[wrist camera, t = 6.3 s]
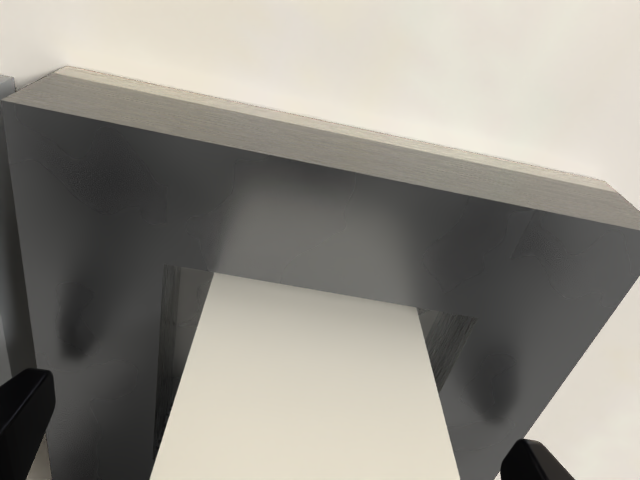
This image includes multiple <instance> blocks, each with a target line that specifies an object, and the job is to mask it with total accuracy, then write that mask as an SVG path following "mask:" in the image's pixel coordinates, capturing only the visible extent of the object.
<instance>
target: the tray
mask: <svg viewBox="0 0 640 480" xmlns="http://www.w3.org/2000/svg"><path fill="white" fill-rule="evenodd" d="M13 93H15V84H14V77H9V76H4V75H0V386H1V385H2V384H4V383H5V382H7V381H8V380H9V379H11V378H12V377H14V376H15V375H17V374H18V373H20V372H21V371H22V370H24V369H27V368H37V364H36V357H35V350H34V342H33V335H32V328H31V320H30V313H29V306H28V298H27V291H26V284H25V276H24V269H23V262H22V254H21V247H20V240H19V232H18V225H17V218H16V210H15V203H14V196H13V188H12V181H11V174H10V166H9V159H8V152H7V144H6V137H5V130H4V122H3V115H2V108H1V99H3V98H5V97H7V96H9V95H11V94H13ZM45 432H46V431H45Z"/></svg>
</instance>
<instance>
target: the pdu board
mask: <svg viewBox="0 0 640 480" xmlns="http://www.w3.org/2000/svg"><path fill="white" fill-rule="evenodd" d="M1 108H2V115H3V122H4V130H5V137H6V144H7V152H8V159H9V166H10V174H11V181H12V188H13V196H14V203H15V210H16V218H17V225H18V232H19V240H20V247H21V254H22V262H23V269H24V276H25V284H26V291H27V298H28V306H29V313H30V320H31V328H32V335H33V342H34V350H35V357H36V364H37V368H38V369H45V370H50V371H51V372H52V373H53V377H54V387H55V396H56V404H55V409H54V412H53V415H52V417H51V419H50V422H49V424H48V427H47V429H46V438H47V445H48V452H49V460H50V467H51V474H52V480H150V476H151V473H152V470H153V467H154V464H155V461H156V457H157V454H158V451H159V448H160V445H161V441H162V438H163V435H164V432H165V429H166V425H167V422H168V419H169V416H170V413H171V409H172V406H173V403H174V400H175V397H176V393H177V390H178V387H179V384H180V381H181V378H182V374H183V371H184V368H185V365H186V362H187V358H188V355H189V352H190V349H191V346H192V342H193V339H194V336H195V333H196V330H197V326H198V323H199V320H200V317H201V314H202V310H203V307H204V304H205V301H206V298H207V294H208V291H209V288H210V285H211V282H212V279H213V275H214V272H215V273H220V274H226V275H232V276H238V277H243V278H249V279H255V280H261V281H267V282H272V283H278V284H284V285H290V286H295V287H301V288H307V289H313V290H318V291H324V292H330V293H336V294H342V295H347V296H353V297H359V298H365V299H370V300H376V301H382V302H388V303H394V304H399V305H405V306H411V307H416V309H417V312H418V316H419V320H420V324H421V328H422V332H423V336H424V340H425V344H426V348H427V351H428V355H429V359H430V363H431V367H432V371H433V375H434V379H435V383H436V387H437V391H438V394H439V398H440V402H441V406H442V410H443V414H444V418H445V422H446V426H447V430H448V434H449V437H450V441H451V445H452V449H453V453H454V457H455V461H456V465H457V469H458V473H459V476H460V480H494V479H495V477H496V476H497V474H498V473H499V472H500V468H501V463H502V461H503V459H504V458H505V456H506V455H507V453H508V452H509V451H510V449H511V448H512V446H513V445H514V443H515V442H516V441H517V440H519V439H523V438H524V437H525V435H526V434H527V432H528V431H529V430H530V428H531V427H532V425H533V424H534V423H535V421H536V420H537V418H538V417H539V416H540V414H541V413H542V411H543V410H544V409H545V407H546V406H547V404H548V403H549V402H550V400H551V399H552V397H553V396H554V395H555V393H556V392H557V390H558V389H559V388H560V386H561V385H562V383H563V382H564V381H565V379H566V378H567V376H568V375H569V374H570V372H571V371H572V369H573V368H574V367H575V365H576V364H577V362H578V361H579V360H580V358H581V357H582V356H583V354H584V353H585V351H586V350H587V349H588V347H589V346H590V344H591V343H592V342H593V340H594V339H595V337H596V336H597V335H598V333H599V332H600V330H601V329H602V328H603V326H604V325H605V323H606V322H607V321H608V319H609V318H610V316H611V315H612V314H613V312H614V311H615V309H616V308H617V307H618V305H619V304H620V302H621V301H622V300H623V298H624V297H625V295H626V294H627V293H628V291H629V290H630V288H631V287H632V286H633V284H634V283H635V281H636V280H637V279H638V277H639V276H640V211H639V210H637V209H636V208H635V207H634V206H633V205H632V204H631V203H629V202H628V201H627V200H626V199H625V198H624V197H623V196H621V195H620V194H619V193H618V192H617V191H616V190H615V189H613V188H612V187H611V186H610V185H609V184H608V183H606V182H605V181H602V180H598V179H593V178H588V177H584V176H579V175H574V174H570V173H565V172H560V171H556V170H551V169H546V168H542V167H537V166H532V165H528V164H523V163H518V162H514V161H509V160H504V159H500V158H495V157H490V156H486V155H481V154H476V153H472V152H467V151H462V150H458V149H453V148H449V147H444V146H439V145H435V144H430V143H425V142H421V141H416V140H411V139H407V138H402V137H397V136H393V135H388V134H383V133H379V132H374V131H369V130H365V129H360V128H355V127H351V126H346V125H341V124H337V123H332V122H327V121H323V120H318V119H313V118H309V117H304V116H299V115H295V114H290V113H286V112H281V111H276V110H272V109H267V108H262V107H258V106H253V105H248V104H244V103H239V102H234V101H230V100H225V99H220V98H216V97H211V96H206V95H202V94H197V93H192V92H188V91H183V90H178V89H174V88H169V87H164V86H160V85H155V84H150V83H146V82H141V81H136V80H132V79H127V78H123V77H118V76H113V75H109V74H104V73H99V72H95V71H90V70H85V69H81V68H76V67H71V66H65V67H63V68H61V69H59V70H57V71H55V72H53V73H51V74H50V75H48V76H46V77H44V78H42V79H40V80H38V81H36V82H34V83H32V84H30V85H28V86H26V87H25V88H23V89H21V90H19V91H17V92H15V93H13V94H11V95H9V96H7V97H5V98H3V99H1Z"/></svg>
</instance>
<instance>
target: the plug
mask: <svg viewBox="0 0 640 480" xmlns="http://www.w3.org/2000/svg"><path fill="white" fill-rule="evenodd" d="M150 480H460V476H459V473H458V469H457V465H456V461H455V457H454V453H453V449H452V445H451V441H450V437H449V434H448V430H447V426H446V422H445V418H444V414H443V410H442V406H441V402H440V398H439V394H438V391H437V387H436V383H435V379H434V375H433V371H432V367H431V363H430V359H429V355H428V351H427V348H426V344H425V340H424V336H423V332H422V328H421V324H420V320H419V316H418V312H417V309H416V307H411V306H405V305H399V304H394V303H388V302H382V301H376V300H370V299H365V298H359V297H353V296H347V295H342V294H336V293H330V292H324V291H318V290H313V289H307V288H301V287H295V286H290V285H284V284H278V283H272V282H267V281H261V280H255V279H249V278H243V277H238V276H232V275H226V274H220V273H215V272H214V275H213V279H212V282H211V285H210V288H209V291H208V294H207V298H206V301H205V304H204V307H203V310H202V314H201V317H200V320H199V323H198V326H197V330H196V333H195V336H194V339H193V342H192V346H191V349H190V352H189V355H188V358H187V362H186V365H185V368H184V371H183V374H182V378H181V381H180V384H179V387H178V390H177V393H176V397H175V400H174V403H173V406H172V409H171V413H170V416H169V419H168V422H167V425H166V429H165V432H164V435H163V438H162V441H161V445H160V448H159V451H158V454H157V457H156V461H155V464H154V467H153V470H152V473H151V476H150Z"/></svg>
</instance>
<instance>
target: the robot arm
mask: <svg viewBox="0 0 640 480" xmlns="http://www.w3.org/2000/svg"><path fill="white" fill-rule="evenodd" d="M55 404H56V396H55V387H54V377H53V373H52V372H51V371H50V370H45V369H38V368H27V369H24V370H22V371H21V372H20V373H18V374H17V375H15V376H14V377H12V378H11V379H9V380H8V381H7V382H5V383H4V384H2V385H1V386H0V480H26V477H27V475H28V473H29V470H30V468H31V465H32V463H33V460H34V458H35V456H36V453H37V451H38V448H39V446H40V444H41V441H42V439H43V436H44V434H45V431H46V429H47V427H48V424H49V422H50V419H51V417H52V415H53V412H54V409H55ZM500 474H501V480H575V479H574V478H573V477H572V476H571V475H570V474H569V472H568V471H567V470H566V469H565V468H564V467H563V466H562V465H561V464H560V463H559V462H558V460H557V459H556V458H555V457H554V456H553V455H552V454H551V453H550V452H549V451H548V449H547V448H546V447H545V446H544V445H543V444H542V443H540V442H538V441H535V440H528V439H519V440H517V441H516V442H515V443H514V445H513V446H512V448H511V449H510V451H509V452H508V453H507V455H506V456H505V458H504V459H503V461H502V463H501V468H500Z"/></svg>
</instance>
